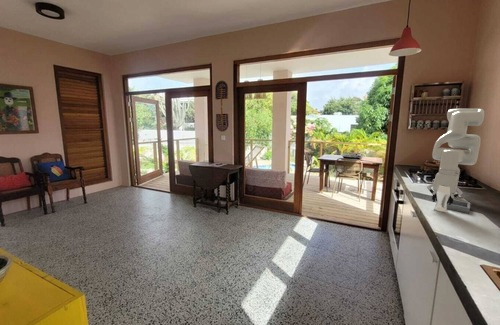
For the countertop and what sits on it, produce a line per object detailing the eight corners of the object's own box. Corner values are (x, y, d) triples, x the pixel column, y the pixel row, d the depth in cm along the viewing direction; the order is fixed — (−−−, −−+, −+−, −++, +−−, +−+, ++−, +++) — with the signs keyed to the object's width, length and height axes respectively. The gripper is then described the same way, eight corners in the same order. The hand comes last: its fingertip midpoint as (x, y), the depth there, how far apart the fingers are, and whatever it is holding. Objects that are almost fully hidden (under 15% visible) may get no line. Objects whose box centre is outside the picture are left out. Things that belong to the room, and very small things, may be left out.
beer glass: (442, 213, 130) (446, 187, 127) (429, 208, 137) (433, 183, 134) (451, 212, 132) (456, 186, 129) (438, 207, 139) (443, 183, 136)
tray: (442, 202, 149) (443, 197, 148) (469, 207, 140) (470, 202, 140) (440, 207, 139) (441, 202, 139) (468, 213, 131) (469, 208, 130)
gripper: (468, 173, 127) (462, 205, 131) (429, 168, 139) (424, 197, 142) (468, 176, 122) (461, 208, 125) (427, 170, 133) (422, 200, 137)
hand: (441, 202), depth 134 cm, fingers closed on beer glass, 6 cm apart
